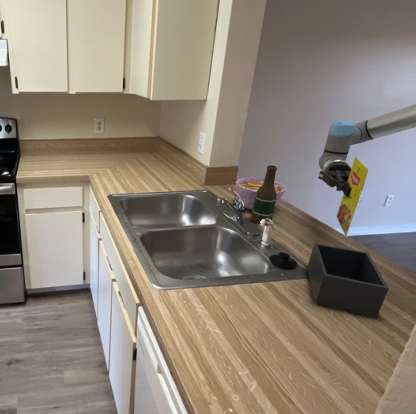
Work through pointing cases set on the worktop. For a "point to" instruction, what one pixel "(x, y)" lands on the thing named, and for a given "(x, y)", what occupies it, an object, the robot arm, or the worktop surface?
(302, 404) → the worktop surface
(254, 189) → the bowl of food
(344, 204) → the food package
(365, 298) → the storage bin
